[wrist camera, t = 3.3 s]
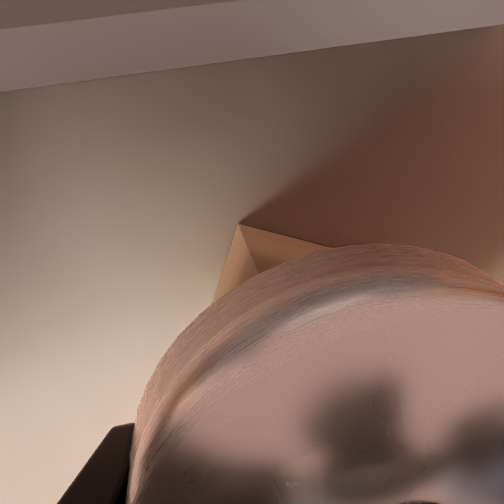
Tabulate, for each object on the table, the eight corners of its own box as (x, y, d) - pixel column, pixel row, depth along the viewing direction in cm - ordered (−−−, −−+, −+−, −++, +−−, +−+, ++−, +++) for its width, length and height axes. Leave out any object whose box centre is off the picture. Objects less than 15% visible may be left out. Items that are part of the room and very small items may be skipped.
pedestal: (333, 393, 13) (400, 529, 9) (191, 370, 12) (199, 512, 8) (392, 263, 11) (497, 357, 8) (238, 223, 10) (274, 311, 7)
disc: (433, 587, 10) (498, 716, 8) (91, 570, 8) (66, 732, 6) (616, 299, 8) (769, 379, 6) (201, 186, 6) (215, 247, 4)
